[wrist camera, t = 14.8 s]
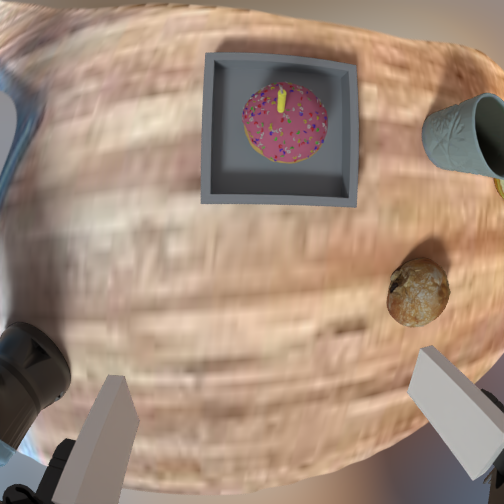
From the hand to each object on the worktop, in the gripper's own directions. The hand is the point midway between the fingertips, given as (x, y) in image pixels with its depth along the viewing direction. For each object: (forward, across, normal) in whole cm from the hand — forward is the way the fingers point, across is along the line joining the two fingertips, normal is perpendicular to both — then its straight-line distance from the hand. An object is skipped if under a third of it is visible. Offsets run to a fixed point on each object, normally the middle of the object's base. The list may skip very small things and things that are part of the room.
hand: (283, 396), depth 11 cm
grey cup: (+25, -28, -15) cm, 41 cm away
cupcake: (+24, -4, -14) cm, 29 cm away
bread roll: (+25, -25, +7) cm, 36 cm away
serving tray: (+25, -4, -14) cm, 29 cm away
